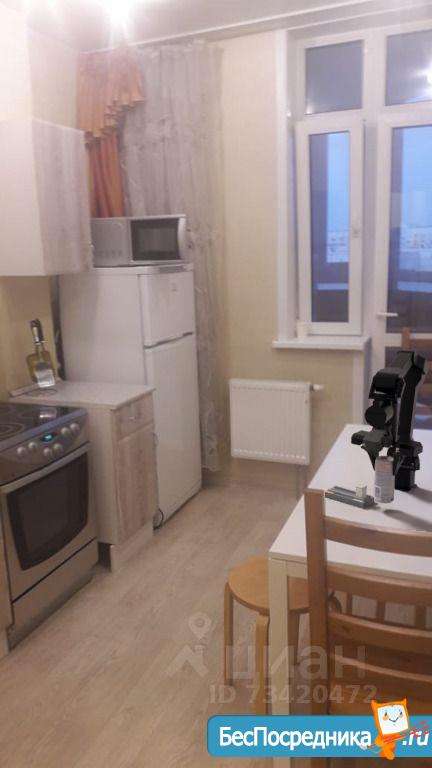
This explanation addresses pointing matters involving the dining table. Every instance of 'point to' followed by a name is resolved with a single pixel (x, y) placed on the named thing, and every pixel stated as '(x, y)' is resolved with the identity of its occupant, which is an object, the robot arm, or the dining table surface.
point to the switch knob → (361, 491)
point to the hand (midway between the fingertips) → (384, 472)
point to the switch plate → (348, 496)
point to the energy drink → (384, 479)
